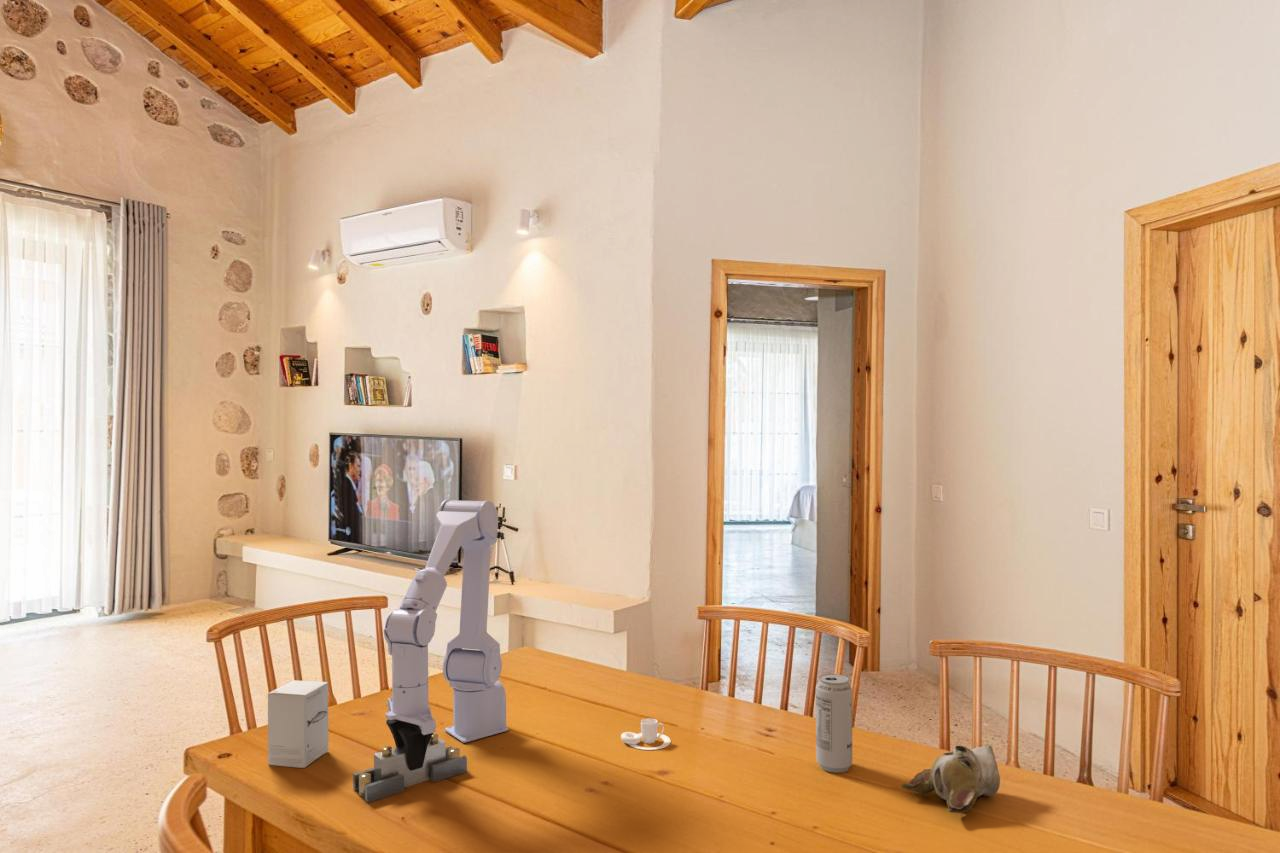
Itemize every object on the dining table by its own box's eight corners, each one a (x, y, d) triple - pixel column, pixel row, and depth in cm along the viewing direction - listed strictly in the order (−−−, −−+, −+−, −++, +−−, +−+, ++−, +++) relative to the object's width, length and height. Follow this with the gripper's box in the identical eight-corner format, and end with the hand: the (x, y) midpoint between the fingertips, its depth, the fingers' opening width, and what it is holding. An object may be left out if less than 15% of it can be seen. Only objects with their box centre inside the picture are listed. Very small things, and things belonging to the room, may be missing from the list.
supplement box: (305, 769, 139) (304, 695, 139) (266, 765, 141) (265, 692, 141) (330, 751, 147) (329, 681, 146) (293, 748, 148) (292, 678, 148)
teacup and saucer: (616, 747, 148) (616, 725, 148) (633, 732, 156) (633, 710, 156) (661, 755, 145) (661, 732, 145) (676, 738, 152) (676, 716, 152)
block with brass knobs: (437, 768, 139) (437, 730, 139) (445, 774, 137) (445, 736, 137) (374, 787, 132) (373, 747, 132) (381, 794, 130) (381, 753, 130)
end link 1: (389, 778, 136) (389, 760, 135) (404, 791, 131) (404, 772, 131) (352, 789, 132) (352, 770, 132) (366, 803, 127) (366, 783, 127)
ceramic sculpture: (1019, 746, 126) (951, 773, 119) (1022, 801, 126) (954, 832, 119) (962, 724, 135) (896, 747, 128) (965, 775, 135) (899, 802, 128)
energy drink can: (857, 773, 136) (857, 683, 136) (821, 774, 136) (821, 684, 136) (845, 758, 142) (845, 672, 142) (811, 759, 142) (811, 673, 142)
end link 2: (451, 760, 143) (451, 743, 142) (467, 772, 138) (467, 754, 138) (418, 770, 139) (417, 752, 139) (433, 782, 134) (433, 764, 134)
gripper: (369, 676, 138) (370, 757, 138) (405, 699, 126) (405, 787, 127) (409, 668, 142) (410, 746, 142) (447, 689, 131) (448, 774, 131)
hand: (411, 764), depth 135 cm, fingers closed on block with brass knobs, 3 cm apart
